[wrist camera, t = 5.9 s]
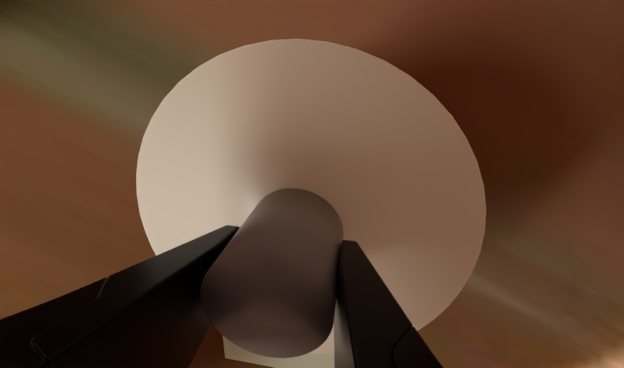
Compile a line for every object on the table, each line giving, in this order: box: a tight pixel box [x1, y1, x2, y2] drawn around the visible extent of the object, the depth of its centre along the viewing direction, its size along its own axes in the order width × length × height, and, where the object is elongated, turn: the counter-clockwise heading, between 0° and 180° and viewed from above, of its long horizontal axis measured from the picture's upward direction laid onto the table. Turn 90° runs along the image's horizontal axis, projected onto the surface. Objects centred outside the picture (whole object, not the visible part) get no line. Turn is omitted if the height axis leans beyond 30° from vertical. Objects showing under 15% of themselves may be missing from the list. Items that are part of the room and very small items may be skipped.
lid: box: [136, 39, 486, 358], centre depth 8 cm, size 11×11×4 cm
